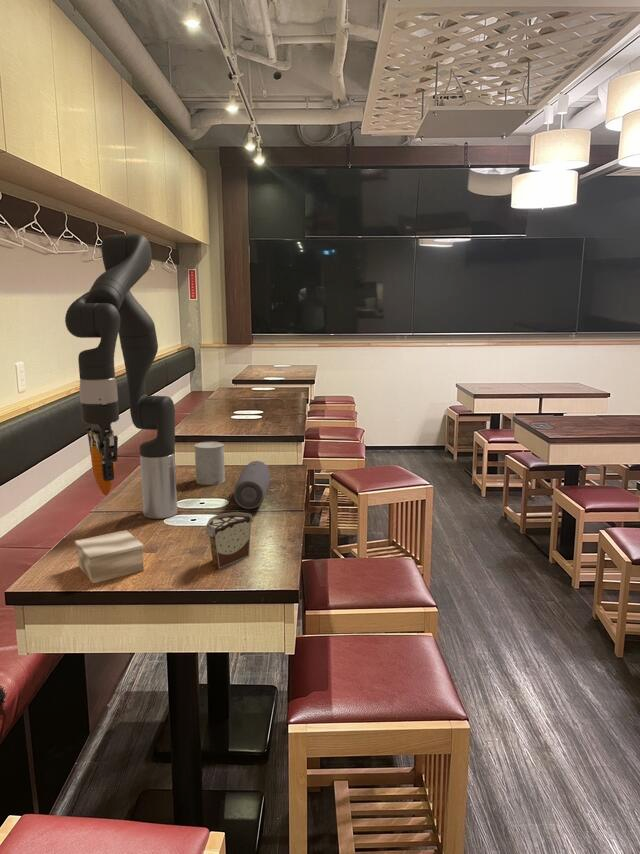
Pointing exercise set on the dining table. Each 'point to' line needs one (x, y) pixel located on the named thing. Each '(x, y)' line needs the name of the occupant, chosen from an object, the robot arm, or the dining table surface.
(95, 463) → the carrot
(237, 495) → the bluetooth speaker
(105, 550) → the wooden stand
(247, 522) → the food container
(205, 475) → the grey cylinder
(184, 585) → the dining table surface
